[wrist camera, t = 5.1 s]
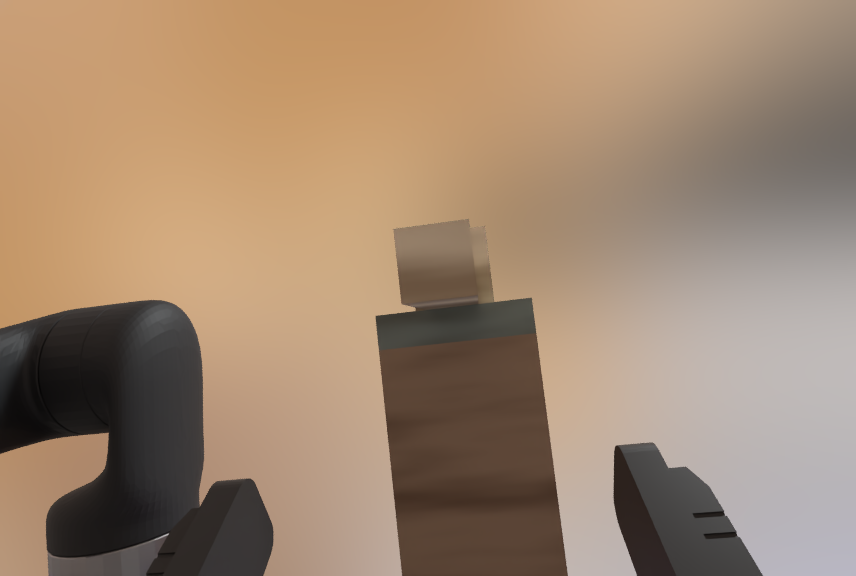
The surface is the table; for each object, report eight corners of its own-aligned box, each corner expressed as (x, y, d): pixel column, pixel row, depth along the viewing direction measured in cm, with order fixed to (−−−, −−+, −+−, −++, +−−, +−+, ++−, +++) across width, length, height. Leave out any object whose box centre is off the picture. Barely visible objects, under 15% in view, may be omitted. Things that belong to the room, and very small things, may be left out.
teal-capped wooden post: (607, 878, 25) (531, 297, 27) (433, 878, 26) (375, 315, 28) (576, 744, 33) (519, 303, 35) (444, 747, 34) (398, 317, 36)
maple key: (503, 292, 19) (488, 165, 19) (376, 307, 19) (363, 183, 20) (492, 306, 36) (483, 239, 36) (424, 314, 36) (417, 248, 36)
